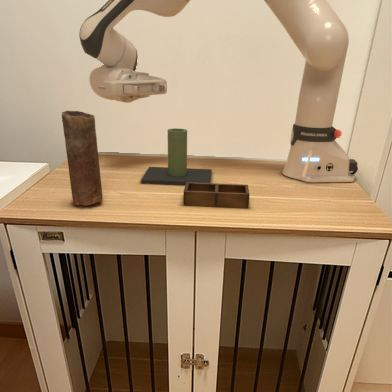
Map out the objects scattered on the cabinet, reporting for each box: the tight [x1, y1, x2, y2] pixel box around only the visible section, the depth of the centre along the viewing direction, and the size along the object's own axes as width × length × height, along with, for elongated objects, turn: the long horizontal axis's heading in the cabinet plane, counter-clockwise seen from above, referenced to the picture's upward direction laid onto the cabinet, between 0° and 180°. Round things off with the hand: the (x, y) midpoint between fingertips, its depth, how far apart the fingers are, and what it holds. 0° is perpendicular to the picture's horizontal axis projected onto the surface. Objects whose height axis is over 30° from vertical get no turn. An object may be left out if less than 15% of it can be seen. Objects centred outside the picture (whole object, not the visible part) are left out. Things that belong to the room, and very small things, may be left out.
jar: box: [167, 127, 188, 177], centre depth 120 cm, size 6×6×12 cm
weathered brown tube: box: [61, 110, 104, 207], centre depth 97 cm, size 8×7×20 cm
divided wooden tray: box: [183, 182, 250, 209], centre depth 106 cm, size 16×9×4 cm, turn 87°
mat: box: [140, 166, 212, 186], centre depth 124 cm, size 20×16×1 cm
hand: (151, 89), depth 118 cm, fingers open, 8 cm apart
